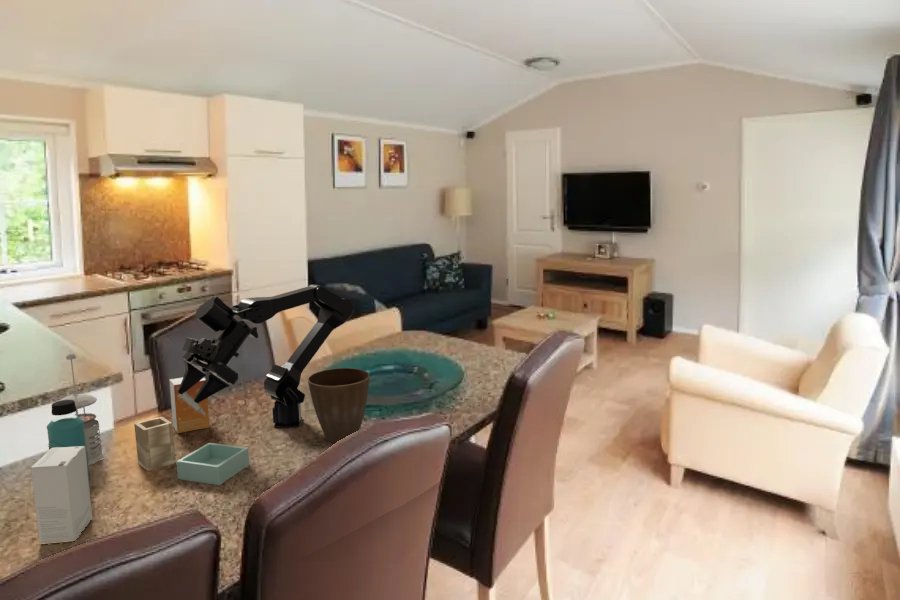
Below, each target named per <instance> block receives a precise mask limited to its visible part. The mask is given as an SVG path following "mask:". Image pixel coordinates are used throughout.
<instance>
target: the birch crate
mask: <svg viewBox="0 0 900 600" xmlns="http://www.w3.org/2000/svg"><path fill="white" fill-rule="evenodd" d="M133 425H134V434H135V435H134V436H135V444H136V445H135V446H136V456H137V464H138V463H139V466H141V467H142V468H143V467H144V468H143V469H144V470H145V471H147V472H149V471H153V469H154V470H156V469H160V468H163V467H166V466H169V465H173V464H177V460H176V452H175V442H174V441H175V439H174V429H173V428H174V427H173V421H172V422H171V421H170V420H168V419H166V417H164V416H160V417H159V416H158V417H155V418H150V419H146V420H142V421H139V422H135V423H133Z"/></svg>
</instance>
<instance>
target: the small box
mask: <svg viewBox="0 0 900 600" xmlns="http://www.w3.org/2000/svg"><path fill="white" fill-rule="evenodd" d="M183 377H184V376H182V377H178V378H170V379H169V390H170V391H169V392H170V403H171V405H170V406H171V414H172V415H171V416H172V427H173V428H174V430H175V431H176V433H177V434H181V433H182V434H183V433H186V432H190V431H196V430H202V429H208V428H211V426H210V425H211V424H210V408H209V397H208V398H206V399H204V400H203V401H201V402H199V403H196V402H194V399H195V397H196V395H197V393H198V392H199V390H200V388H201V387H202V385H203V383H204V382H205V380H206V377H204V378H202V379H201V380H200V381H199V382H197V383H196V384H195V385H194V386H192V387H191V388H190V389H189V390H187V391H186V392H185V393H183V394H179V393H178V390H179V387H180V385H181V382H182V379H183Z"/></svg>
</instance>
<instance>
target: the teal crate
mask: <svg viewBox="0 0 900 600" xmlns="http://www.w3.org/2000/svg"><path fill="white" fill-rule="evenodd" d="M248 466H250V453H249V447H247V446H246V447H245V446H237V445H231V444H222V443H213V442H208V443H206V444H205V445H202V446H201V447H199V448H198V449H197V448H196V450H194V451H192V452H190V453H188V454H187V455H185V456H183V457H181V458H180V459H178V460H176V470H177V479H178V480H183V481H189V482H196V483H202V484H203V483H204V484H209V485H216V486H221V484H223V483H224V482H226V481H227V480H228V479H231V478H232V477H233V476H235V475H236V474H237V473H239V472H241V471H243V470H244V469H245V468H247V467H248Z"/></svg>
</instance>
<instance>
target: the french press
mask: <svg viewBox="0 0 900 600" xmlns="http://www.w3.org/2000/svg"><path fill="white" fill-rule="evenodd" d="M65 359H66V360H70V362H71V363H70V365H71V372H72V374H71V375H72V382H73V390H74V394H70V395H68V396H65V397H63V398H61V399H60V400H59V401H61V400H74V401H75V406H76V411H75V414H74V415H76V416H78V417H80V418H81V419H83V420H84V432H85V441H86V450H87V454H88V455H87V457H88V458H89V460H88V461H89V463H88V464H91V465H93V464H96V463H98V462H97V461H99V460H100V459H102V458H104V457H105V455H106V453H107V452H106V451H105V450H103V447H102V440H101V433H100V423H99V421H98V420H97V419H96V418H97V415H96V414H95V413H90V412H87V413H86V410H85V407H90V406H91V405H94V404H95V403H97V401H98V398H97V397H96V396H93V395H91V394H86V393H77V392H76V384H75V375H74V366H73V365H74V364H73V360H75V359H77V355H76V354H75V353H68V354H66V358H65ZM79 409H83V413H79V411H78V410H79ZM105 452H106V453H105ZM106 456H107V455H106ZM105 458H106V457H105ZM105 458H104V459H105ZM102 460H103V459H102ZM95 462H96V463H95ZM99 462H100V461H99ZM92 463H93V464H92Z"/></svg>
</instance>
